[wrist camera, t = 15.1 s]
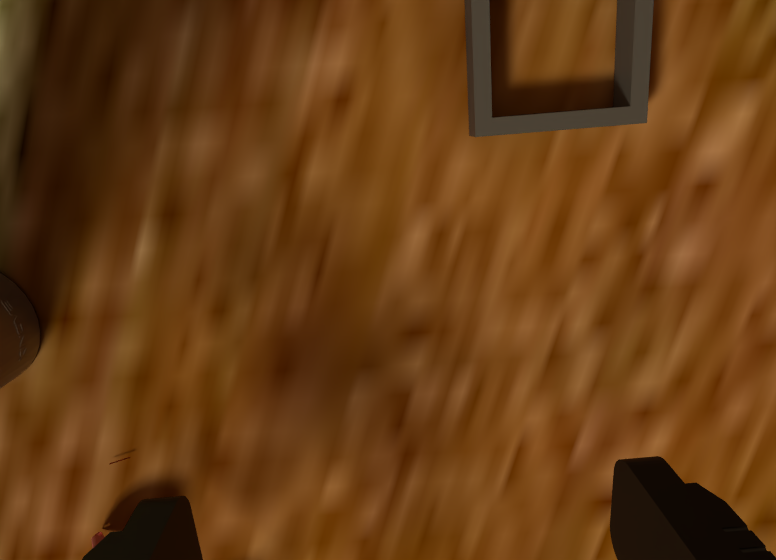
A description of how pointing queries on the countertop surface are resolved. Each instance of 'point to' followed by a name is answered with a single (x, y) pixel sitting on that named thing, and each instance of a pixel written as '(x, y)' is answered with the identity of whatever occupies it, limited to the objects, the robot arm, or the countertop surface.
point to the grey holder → (626, 110)
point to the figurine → (98, 538)
